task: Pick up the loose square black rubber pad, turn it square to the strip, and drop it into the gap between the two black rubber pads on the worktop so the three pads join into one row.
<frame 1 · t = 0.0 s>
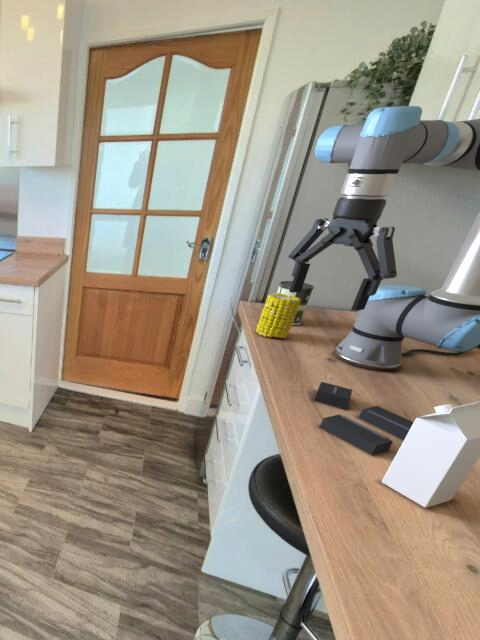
hand: (324, 300, 94), 28 cm above the table, tool pointing down, fingers open, 13 cm apart
pad row: (372, 433, 97), on the table
loose pad: (330, 400, 110), on the table
coffee can: (284, 321, 163), on the table
food: (271, 335, 150), on the table
milk carton: (414, 492, 80), on the table
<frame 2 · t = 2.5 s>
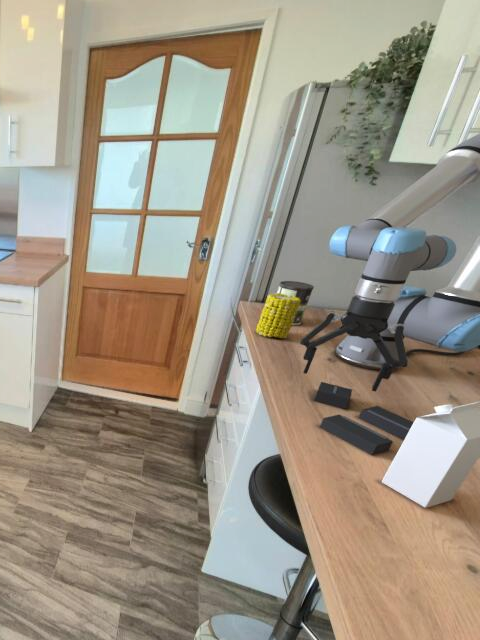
hand: (338, 380, 107), 6 cm above the table, tool pointing down, fingers open, 13 cm apart
nothing on the table moved.
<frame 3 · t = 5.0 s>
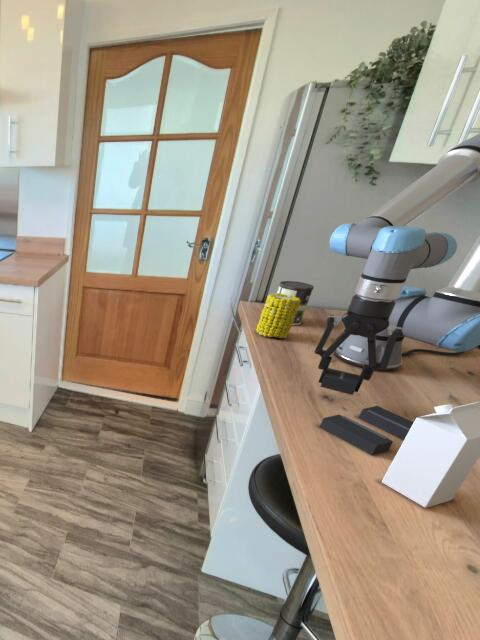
hand: (338, 385, 108), 4 cm above the table, tool pointing down, fingers closed on loose pad, 6 cm apart
loose pad: (337, 386, 108), point 4 cm above the table, touching gripper
everything else where it was.
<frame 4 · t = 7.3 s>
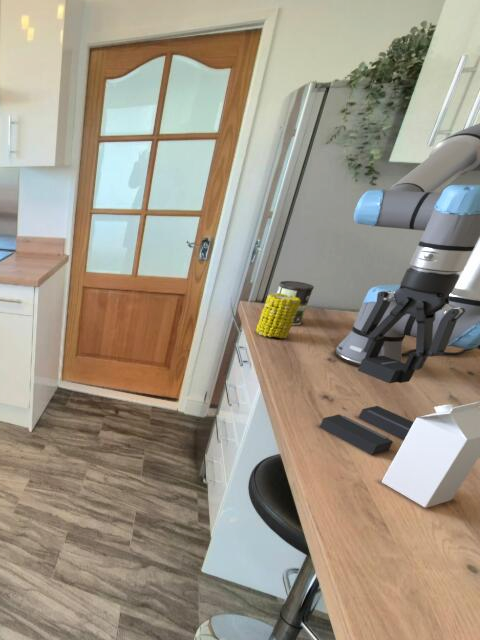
hand: (384, 373, 94), 13 cm above the table, tool pointing down, fingers closed on loose pad, 6 cm apart
loose pad: (383, 375, 94), point 13 cm above the table, touching gripper
everything else where it was.
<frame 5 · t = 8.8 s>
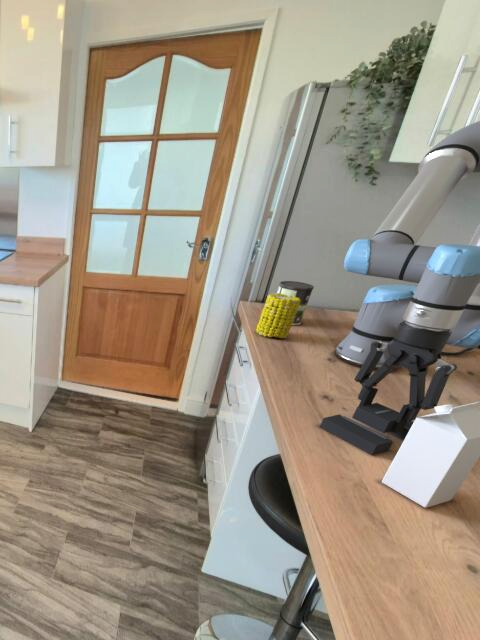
hand: (377, 422, 95), 3 cm above the table, tool pointing down, fingers closed on loose pad, 6 cm apart
loose pad: (377, 423, 96), point 3 cm above the table, touching gripper
everything else where it was.
when the fingers open (0 cm above the table, at t = 9.9 s): loose pad stays where it is, on the table.
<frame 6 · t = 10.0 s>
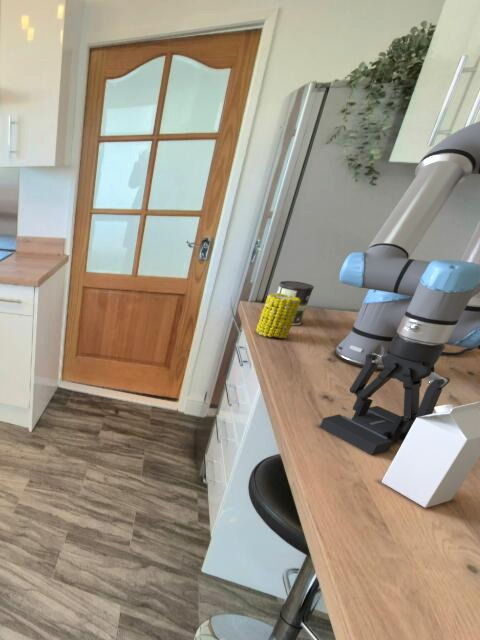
hand: (372, 432, 97), 0 cm above the table, tool pointing down, fingers open, 6 cm apart
loose pad: (372, 433, 97), on the table
everything else where it was.
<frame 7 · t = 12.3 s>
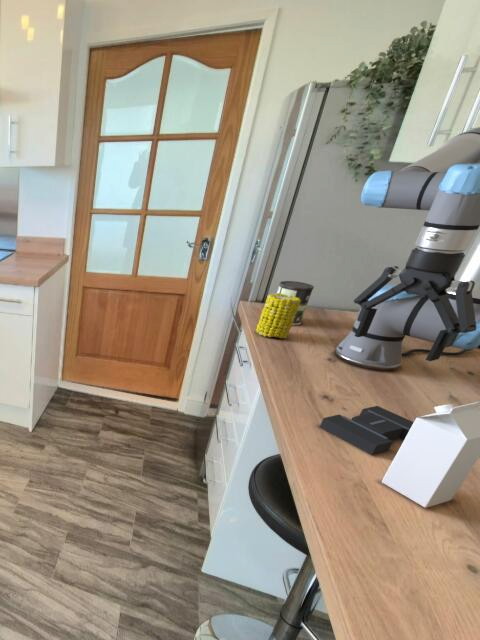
hand: (393, 347, 94), 19 cm above the table, tool pointing down, fingers open, 13 cm apart
nothing on the table moved.
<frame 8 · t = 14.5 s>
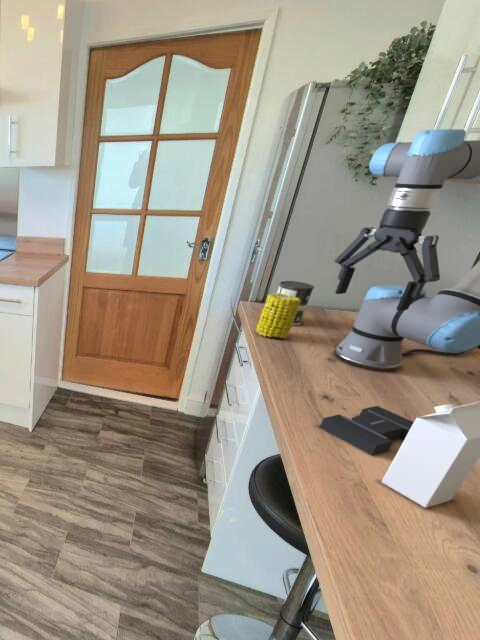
hand: (369, 301, 104), 25 cm above the table, tool pointing down, fingers open, 13 cm apart
nothing on the table moved.
at the end: loose pad 0.1 cm off-centre on the pad row, point 0.0 cm above the pad row's base; loose pad tilted 0°; the gripper is holding nothing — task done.
